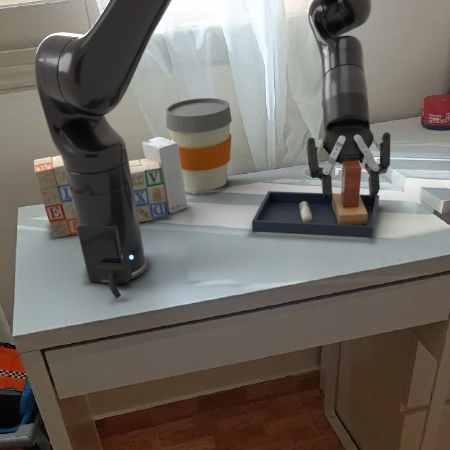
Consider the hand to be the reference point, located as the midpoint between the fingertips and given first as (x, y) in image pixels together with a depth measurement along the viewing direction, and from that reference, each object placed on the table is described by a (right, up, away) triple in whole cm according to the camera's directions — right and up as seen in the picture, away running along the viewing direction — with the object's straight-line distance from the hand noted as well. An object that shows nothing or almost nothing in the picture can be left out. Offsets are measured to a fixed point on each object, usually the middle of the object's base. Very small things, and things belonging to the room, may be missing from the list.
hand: (351, 198), depth 101 cm
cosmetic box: (-32, +3, +16) cm, 36 cm away
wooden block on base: (0, -2, +4) cm, 5 cm away
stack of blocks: (-43, -1, +12) cm, 44 cm away
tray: (-5, -2, +6) cm, 8 cm away
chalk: (-7, -1, +6) cm, 9 cm away
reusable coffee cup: (-25, +10, +23) cm, 35 cm away
